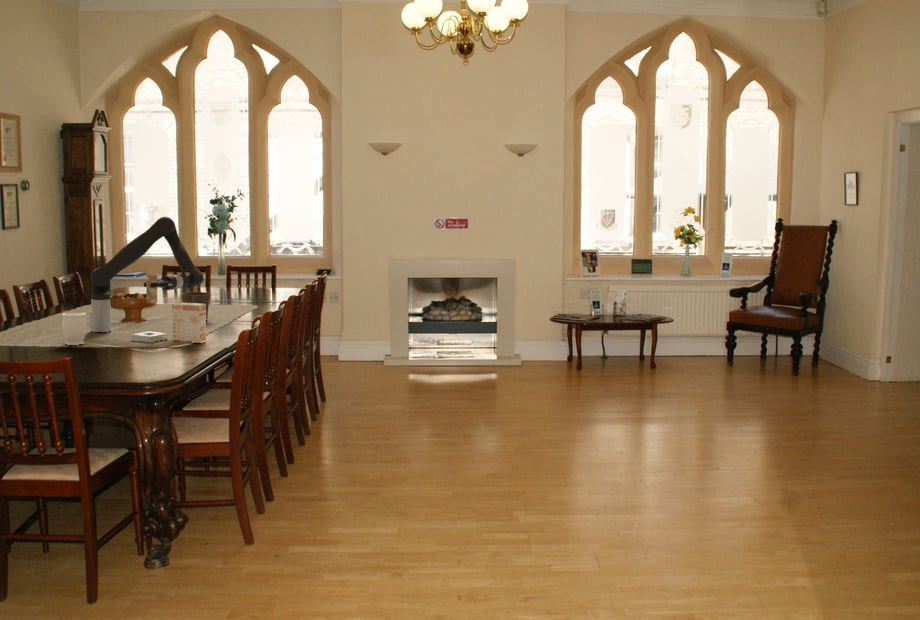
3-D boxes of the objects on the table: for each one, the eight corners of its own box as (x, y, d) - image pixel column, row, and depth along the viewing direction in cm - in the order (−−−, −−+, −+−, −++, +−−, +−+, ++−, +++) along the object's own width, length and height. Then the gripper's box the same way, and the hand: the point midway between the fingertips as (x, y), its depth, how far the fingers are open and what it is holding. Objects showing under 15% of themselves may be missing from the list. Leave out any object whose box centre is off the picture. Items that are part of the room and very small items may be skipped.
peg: (146, 302, 441) (146, 274, 439) (151, 301, 444) (151, 274, 442) (152, 303, 440) (151, 275, 438) (157, 302, 443) (157, 274, 441)
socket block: (131, 342, 436) (131, 334, 435) (149, 339, 446) (149, 331, 446) (150, 344, 431) (150, 336, 430) (167, 341, 442) (167, 333, 441)
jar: (78, 341, 432) (78, 311, 430) (91, 344, 427) (90, 313, 425) (58, 344, 424) (57, 313, 422) (70, 347, 418) (70, 315, 416)
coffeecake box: (206, 342, 443) (206, 303, 440) (198, 344, 436) (198, 305, 433) (180, 340, 447) (179, 301, 444) (171, 342, 440) (171, 303, 437)
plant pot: (181, 319, 516) (181, 291, 514) (210, 319, 521) (210, 291, 519) (181, 323, 500) (181, 295, 498) (211, 323, 505) (211, 295, 503)
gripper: (161, 274, 456) (136, 276, 440) (182, 275, 450) (158, 278, 435) (161, 288, 457) (136, 291, 441) (183, 290, 451) (158, 293, 436)
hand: (147, 285), depth 438 cm, fingers closed on peg, 3 cm apart
